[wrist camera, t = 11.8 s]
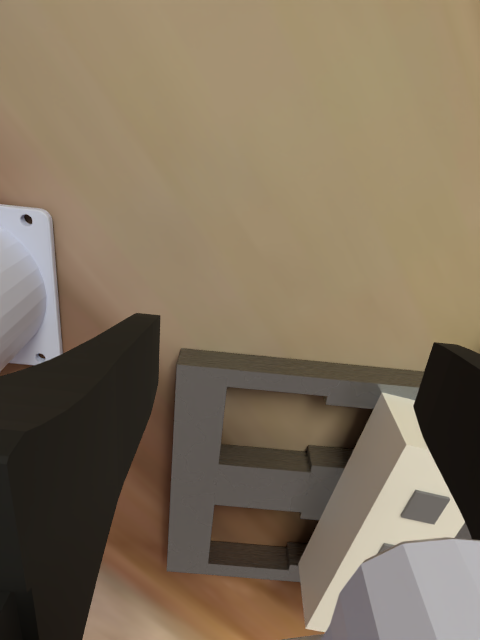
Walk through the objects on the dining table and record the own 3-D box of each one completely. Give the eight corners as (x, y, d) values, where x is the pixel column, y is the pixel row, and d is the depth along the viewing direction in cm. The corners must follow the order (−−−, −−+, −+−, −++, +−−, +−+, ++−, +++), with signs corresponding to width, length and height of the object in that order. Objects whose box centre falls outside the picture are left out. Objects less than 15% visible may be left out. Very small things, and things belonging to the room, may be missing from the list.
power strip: (296, 546, 29) (305, 631, 24) (375, 379, 23) (407, 447, 18) (361, 559, 29) (383, 645, 24) (453, 398, 24) (504, 469, 19)
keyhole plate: (170, 548, 29) (166, 571, 28) (181, 348, 23) (176, 364, 22) (440, 570, 30) (450, 594, 28) (524, 381, 24) (542, 399, 22)
